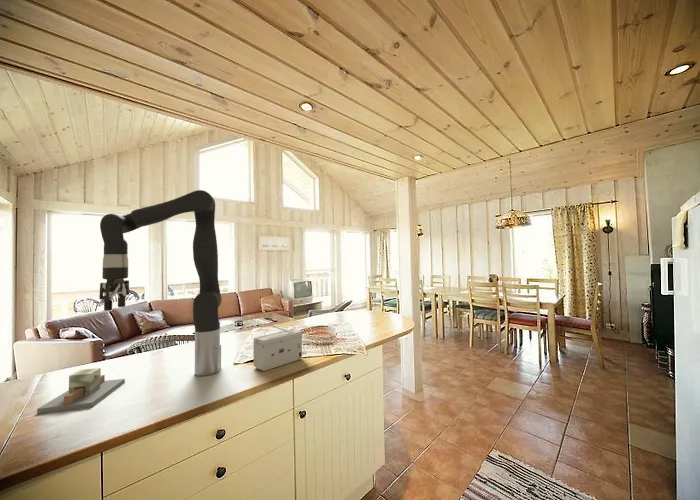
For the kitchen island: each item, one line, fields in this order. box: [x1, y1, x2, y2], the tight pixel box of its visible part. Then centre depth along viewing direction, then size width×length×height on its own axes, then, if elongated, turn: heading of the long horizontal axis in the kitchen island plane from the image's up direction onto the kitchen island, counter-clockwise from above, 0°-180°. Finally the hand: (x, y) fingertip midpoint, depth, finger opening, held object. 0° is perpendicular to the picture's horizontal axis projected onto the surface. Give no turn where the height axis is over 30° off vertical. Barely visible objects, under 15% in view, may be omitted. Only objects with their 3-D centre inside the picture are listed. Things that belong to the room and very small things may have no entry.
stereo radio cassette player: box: [253, 322, 303, 372], centre depth 121 cm, size 21×8×20 cm, turn 135°
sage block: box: [68, 367, 102, 395], centre depth 93 cm, size 7×5×7 cm
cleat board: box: [36, 374, 126, 415], centre depth 93 cm, size 14×18×4 cm
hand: (115, 308), depth 105 cm, fingers open, 8 cm apart
